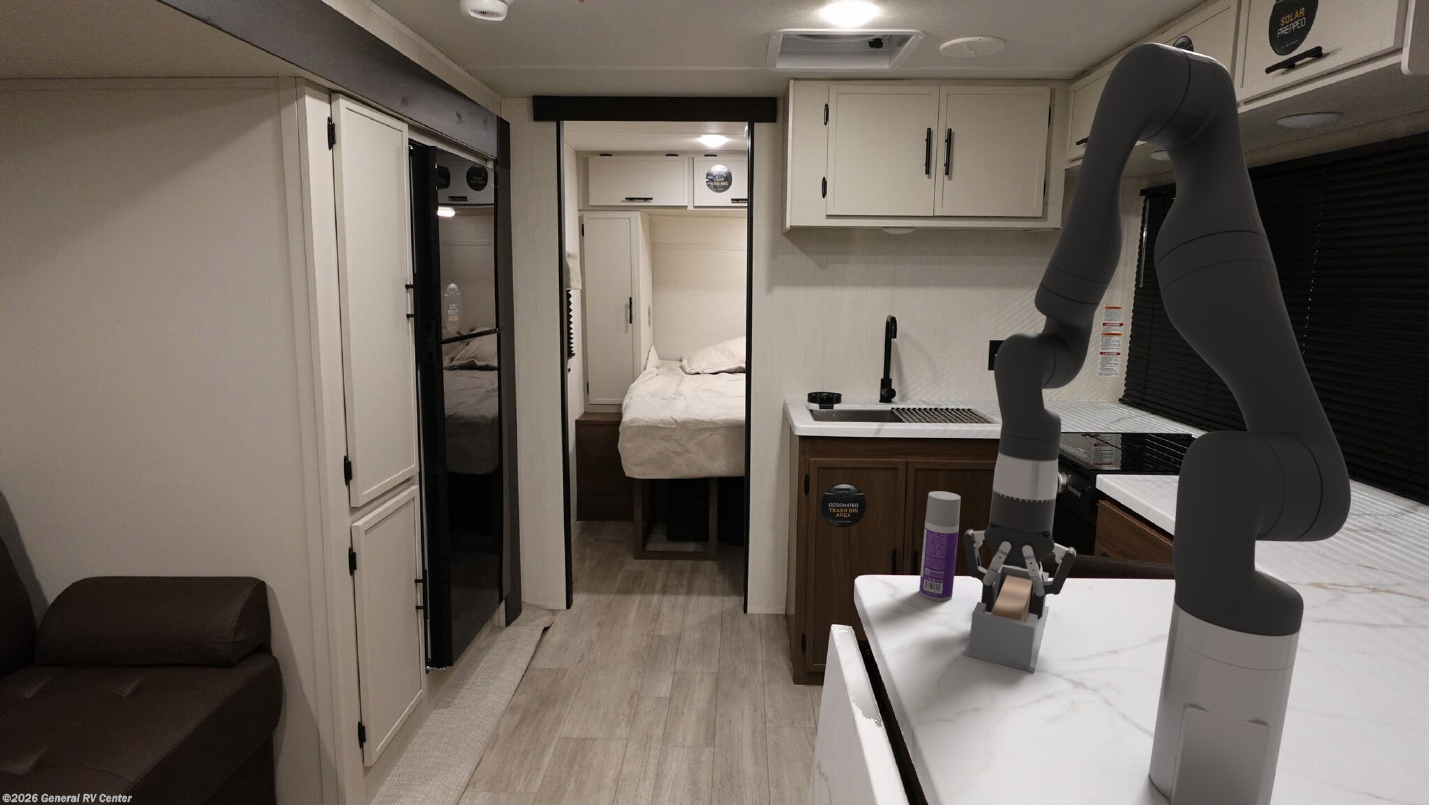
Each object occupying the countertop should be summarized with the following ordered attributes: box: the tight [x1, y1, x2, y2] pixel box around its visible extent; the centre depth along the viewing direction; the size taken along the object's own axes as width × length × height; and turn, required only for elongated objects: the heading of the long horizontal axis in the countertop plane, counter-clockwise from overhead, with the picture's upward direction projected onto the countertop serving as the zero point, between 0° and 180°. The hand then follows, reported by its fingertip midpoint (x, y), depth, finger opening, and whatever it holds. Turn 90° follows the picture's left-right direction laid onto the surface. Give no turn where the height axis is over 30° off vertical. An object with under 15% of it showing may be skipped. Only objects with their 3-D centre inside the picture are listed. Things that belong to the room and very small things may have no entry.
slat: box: [991, 575, 1033, 622], centre depth 100 cm, size 16×3×4 cm, turn 152°
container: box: [918, 490, 962, 602], centre depth 110 cm, size 5×5×15 cm
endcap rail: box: [963, 564, 1050, 673], centre depth 100 cm, size 20×8×6 cm, turn 152°
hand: (1010, 614), depth 100 cm, fingers open, 4 cm apart
